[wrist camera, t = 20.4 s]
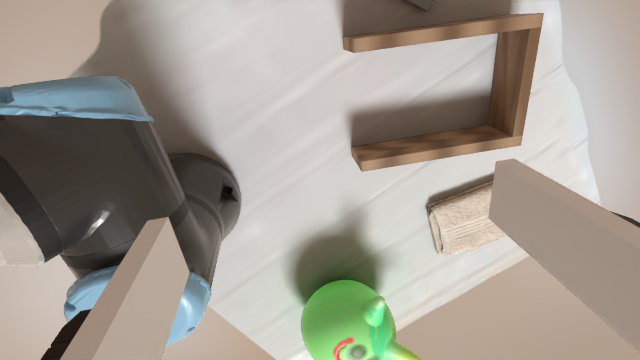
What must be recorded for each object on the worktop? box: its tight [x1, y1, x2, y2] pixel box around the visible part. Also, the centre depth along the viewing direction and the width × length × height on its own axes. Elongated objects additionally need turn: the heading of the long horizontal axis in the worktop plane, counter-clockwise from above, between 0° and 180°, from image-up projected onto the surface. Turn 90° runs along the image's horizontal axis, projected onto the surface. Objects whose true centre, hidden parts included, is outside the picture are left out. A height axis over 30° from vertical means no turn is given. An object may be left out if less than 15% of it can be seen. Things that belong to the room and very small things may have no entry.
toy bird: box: [301, 280, 420, 360], centre depth 56 cm, size 18×17×15 cm
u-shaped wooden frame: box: [343, 13, 544, 172], centre depth 44 cm, size 24×17×6 cm
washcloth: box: [427, 180, 508, 256], centre depth 57 cm, size 12×18×3 cm, turn 111°
